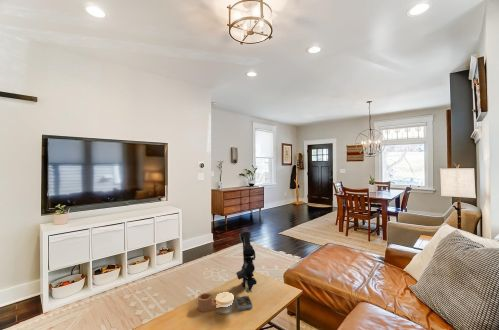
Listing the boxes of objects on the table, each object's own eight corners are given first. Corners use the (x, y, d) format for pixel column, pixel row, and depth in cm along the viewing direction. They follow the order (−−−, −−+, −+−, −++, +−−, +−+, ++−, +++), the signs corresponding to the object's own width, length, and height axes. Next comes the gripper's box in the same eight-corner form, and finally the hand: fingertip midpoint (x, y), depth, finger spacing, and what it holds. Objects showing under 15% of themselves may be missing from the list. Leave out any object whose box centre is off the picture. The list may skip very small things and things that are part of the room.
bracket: (199, 312, 141) (199, 301, 141) (197, 305, 149) (197, 294, 149) (227, 306, 147) (227, 295, 147) (224, 299, 155) (224, 289, 155)
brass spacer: (244, 289, 161) (244, 281, 161) (251, 288, 162) (251, 280, 162) (246, 293, 156) (246, 284, 156) (252, 292, 157) (252, 283, 157)
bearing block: (235, 302, 151) (235, 298, 151) (248, 300, 154) (248, 296, 154) (238, 310, 142) (237, 306, 142) (252, 308, 145) (252, 304, 145)
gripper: (234, 262, 166) (234, 284, 166) (240, 273, 148) (240, 298, 148) (249, 260, 169) (249, 282, 169) (256, 271, 151) (256, 295, 151)
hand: (248, 289), depth 159 cm, fingers closed on brass spacer, 5 cm apart
